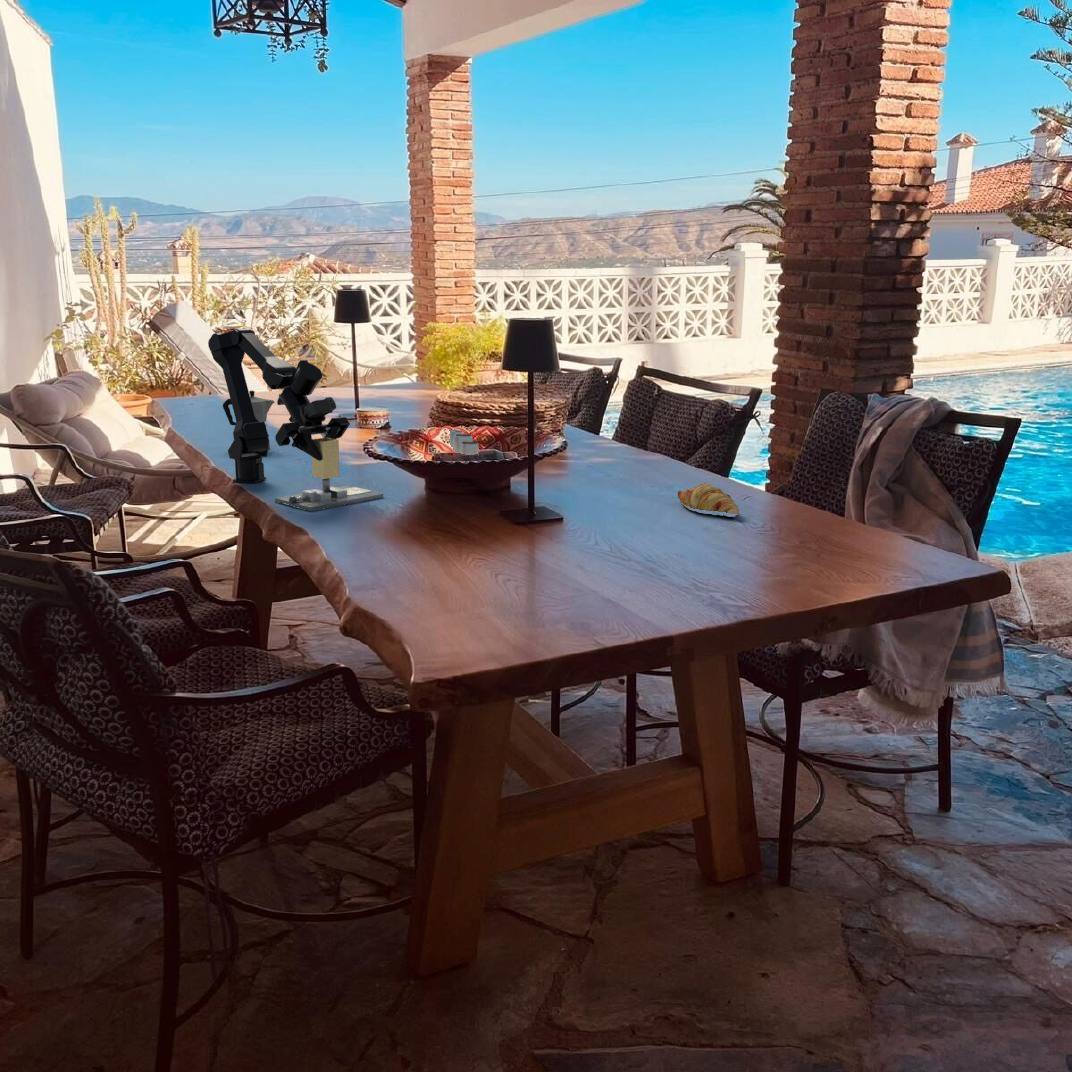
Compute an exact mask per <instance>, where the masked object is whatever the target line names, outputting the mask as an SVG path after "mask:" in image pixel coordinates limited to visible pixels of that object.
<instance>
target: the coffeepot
mask: <svg viewBox="0 0 1072 1072" xmlns="http://www.w3.org/2000/svg"><path fill="white" fill-rule="evenodd" d="M248 391H249V395H250V399H251V402H252V406H253V410H254V414H255V417H256V419H257V420H258V421H259V422H264V423H265V424H266V422H267V420H268V419H267V416H268V413H269V412H270V409H271V408H272V406H273V404H275V403H276V402H275V401H274V400H272V399H269V398H268V399H267V398H262V397H261V398H260V397H257V396H255V392H256V391H254V390H248ZM230 405H231V406H232V403H231V399H230V398H227V399H226V400H225V401H224V402H223V404H222V409H223V410H224V414H225V416H226V418H227V421H228V422H229V425H230V426H235V425H236V422H235V421H234V420H233V419H234V418H233V415H232V413H231V409H230V407H229V406H230ZM270 449H271V445H270V443H269V447H268V450H270Z"/></svg>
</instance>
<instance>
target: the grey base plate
mask: <svg viewBox="0 0 1072 1072" xmlns="http://www.w3.org/2000/svg"><path fill="white" fill-rule="evenodd" d="M321 481H322V482H321V483H322V487H321V489H317V488H314V489H305V490H302V492H301V493H296V494H291V495H285V496H280V497H279V496H278V497H275V498H274V502H275V503H277V502H279V503H278V504H280V503H286V504H289V505H292V506H295V507H299V508H302V509H305V510H304V511H306V510H309V511H308V512H310V511H311V512H315V511H314V510H316V511H320V510H319V509H321V510H324V509H323V508H327V509H330V508H329V507H332V508H335V507H334V506H337V507H340V506H339V505H342V506H345V505H344V504H348V505H351V504H350V503H353V504H358V503H362V502H369V501H372V500H374V501H375V500H378V499H383V498H384V493H383V492H378V491H374V490H369V489H367V488H362V487H357V486H351V485H348V484H347V485H342V486H337V487H336V486H333V485H332V486H331V478H328V479H322V478H321ZM295 507H294V508H295ZM299 508H298V509H299ZM302 509H301V510H302Z"/></svg>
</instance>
